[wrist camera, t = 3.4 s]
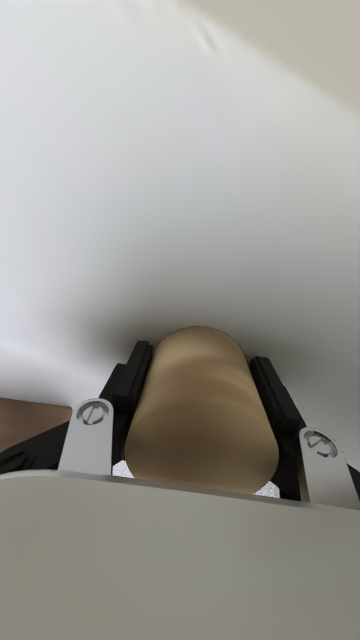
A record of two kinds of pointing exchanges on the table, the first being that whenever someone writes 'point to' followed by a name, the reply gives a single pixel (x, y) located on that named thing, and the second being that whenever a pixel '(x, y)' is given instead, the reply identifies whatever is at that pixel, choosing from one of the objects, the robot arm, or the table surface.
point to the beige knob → (201, 417)
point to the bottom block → (28, 420)
